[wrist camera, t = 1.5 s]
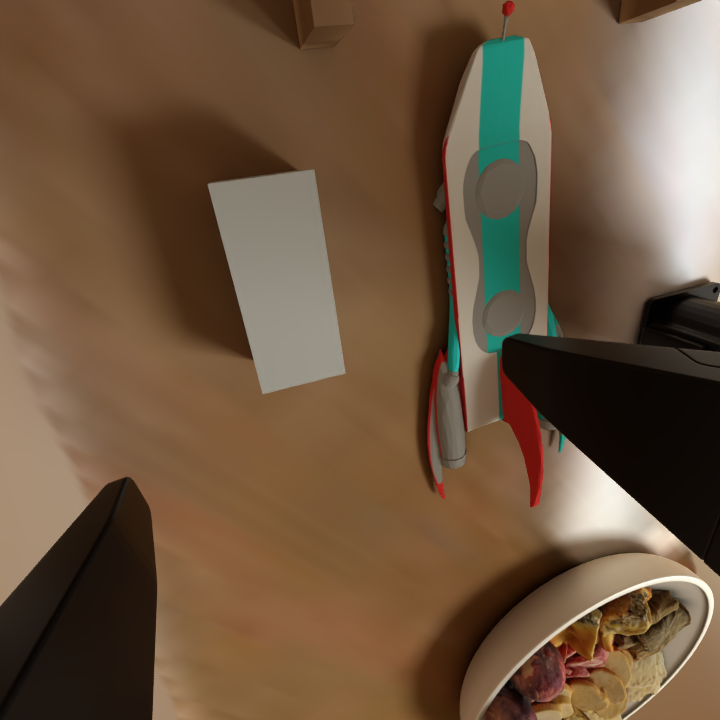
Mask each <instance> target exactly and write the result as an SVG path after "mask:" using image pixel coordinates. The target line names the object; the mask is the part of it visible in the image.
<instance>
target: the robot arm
mask: <svg viewBox="0 0 720 720" xmlns="http://www.w3.org/2000/svg"><path fill="white" fill-rule="evenodd" d="M719 292H720V284H719V283H715V282H710V283H706V284H702V285H698V286H695V287H691V288H687V289H683V290H679V291H676V292H672V293H668V294H664V295H660V296H656V297H653V298H650V299H649V300H648V301H647V302H646V304H645V308H644V313H643V318H642V323H641V328H640V333H639V338H638V343H637V344H626V343H616V342H605V341H595V340H585V339H574V338H564V337H553V336H543V335H532V334H522V333H518V334H514V335H511V336H509V337H506V338H505V339H504V340H503V342H502V370H503V372H504V374H505V375H506V377H507V378H508V379H509V380H510V381H511V382H512V383H513V384H514V385H515V387H516V388H517V389H518V390H519V391H520V392H521V393H522V394H523V395H524V396H525V398H526V399H527V400H528V401H529V402H530V403H531V404H532V405H533V406H534V408H535V409H536V410H537V411H538V412H539V413H540V414H541V415H542V416H543V417H544V418H545V419H546V420H547V421H548V422H549V423H551V424H552V425H553V426H554V427H555V428H556V429H557V430H558V431H559V432H561V433H562V434H563V435H564V436H565V437H566V438H567V439H568V440H569V441H571V442H572V443H573V444H574V445H575V446H576V447H577V448H578V449H579V450H580V451H582V452H583V453H584V454H585V455H586V456H587V457H588V458H589V459H590V460H592V461H593V462H594V463H595V464H596V465H597V466H598V467H599V468H600V469H602V470H603V471H604V472H605V473H606V474H607V475H608V476H609V477H610V478H612V479H613V480H614V481H615V482H616V483H617V484H618V485H619V486H620V487H622V488H623V489H624V490H625V491H626V492H627V493H628V494H629V495H630V496H631V497H633V498H634V499H635V500H636V501H637V502H638V503H639V504H640V505H641V506H643V507H644V508H645V509H646V510H647V511H648V512H649V513H650V514H651V515H653V516H654V517H655V518H656V519H657V520H658V521H659V522H660V523H661V524H663V525H664V526H665V527H666V528H667V529H668V530H669V531H670V532H671V533H672V534H674V535H675V536H676V537H677V538H678V539H679V540H680V541H681V542H682V543H684V544H685V545H686V546H687V547H688V548H689V549H690V550H691V551H692V552H694V553H695V554H696V555H697V556H698V557H699V558H700V559H702V560H704V563H705V564H706V565H708V566H709V567H710V568H711V569H712V570H713V571H714V572H715V573H717V574H718V575H719V576H720V302H718V301H717V300H718V296H719ZM156 608H157V575H156V563H155V552H154V541H153V530H152V519H151V512H150V508H149V506H148V504H147V502H146V500H145V499H144V497H143V495H142V494H141V492H140V490H139V489H138V487H137V485H136V484H135V482H134V481H133V480H132V479H131V478H130V477H124V478H122V479H119V480H116V481H113V482H111V483H108V484H107V485H106V486H105V487H104V488H103V489H102V490H101V491H100V492H99V493H98V495H97V496H96V497H95V498H94V499H93V500H92V502H91V503H90V504H89V505H88V506H87V507H86V508H85V510H84V511H83V512H82V513H81V514H80V515H79V517H78V518H77V519H76V520H75V521H74V522H73V523H72V525H71V526H70V527H69V528H68V529H67V530H66V532H65V533H64V534H63V535H62V536H61V537H60V538H59V539H58V541H57V542H56V543H55V544H54V545H53V546H52V548H51V549H50V550H49V551H48V552H47V553H46V555H45V556H44V557H43V558H42V559H41V560H40V561H39V562H38V564H37V565H36V566H35V567H34V568H33V570H32V571H31V572H30V573H29V574H28V575H27V576H26V577H25V579H24V580H23V581H22V582H21V583H20V584H19V585H18V587H17V588H16V589H15V590H14V591H13V592H12V593H11V595H10V596H9V597H8V598H7V599H6V600H5V601H4V603H3V604H2V605H1V606H0V720H152V712H153V685H154V660H155V634H156Z"/></svg>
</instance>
